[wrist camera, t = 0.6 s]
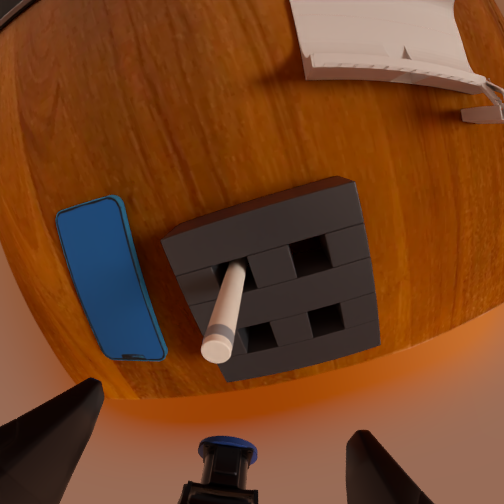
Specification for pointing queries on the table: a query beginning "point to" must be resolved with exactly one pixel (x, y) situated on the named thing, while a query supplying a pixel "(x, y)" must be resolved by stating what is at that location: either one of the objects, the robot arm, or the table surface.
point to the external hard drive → (11, 9)
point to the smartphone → (110, 279)
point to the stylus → (225, 314)
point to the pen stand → (284, 277)
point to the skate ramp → (390, 47)
